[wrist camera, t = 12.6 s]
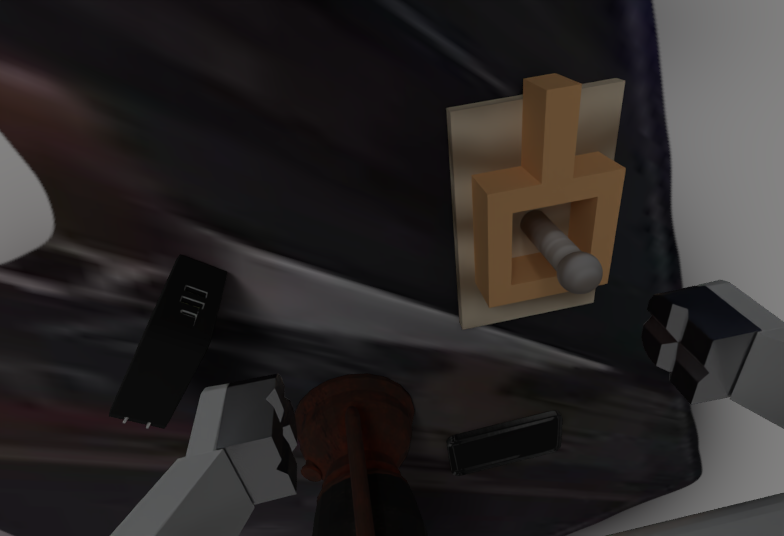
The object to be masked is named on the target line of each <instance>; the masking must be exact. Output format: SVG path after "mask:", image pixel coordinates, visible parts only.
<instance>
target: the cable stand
mask: <svg viewBox="0 0 784 536" xmlns="http://www.w3.org/2000/svg"><path fill="white" fill-rule="evenodd" d="M624 86H625V81H624V80H621V79H618V78H613V79H607V80H602V81H596V82H590V83H585V84H582V89H581V99H580V110H579V121H578V131H577V142H576V152H575V156H576V155H582V154H587V153H592V152H598V151H599V152H600V153H602V154H603V155H605V156H607V157H608V158H610V159H612V160H613V161H614V156H615V149H616V142H617V135H618V128H619V121H620V114H621V107H622V100H623V93H624ZM446 112H447V128H448V145H449V161H450V177H451V193H452V210H453V226H454V242H455V258H456V275H457V291H458V307H459V322H460V325H461V327H462V329H463V330H464V329H469V328H474V327H478V326H483V325H488V324H493V323H497V322H502V321H507V320H512V319H517V318H521V317H526V316H531V315H536V314H541V313H545V312H550V311H555V310H560V309H565V308H569V307H574V306H579V305H584V304H589V303H593V302H594V295H595V288H596V287H597V286H598V285H599V284H600V282H601V280H602V276H603V270H602V266H601V264H600V262H599V261H598V259H597V258H596V257H595V256H593V255H592V254H590V253H587V252H582V251H581V250H580V249H579V248H578V247H577V246H576V245H575V244H574V243H573V242H572V241H571V240H570V239H569V238H568V231H569V220H570V209H571V202H568V203H563V204H558V205H553V206H548V207H543V208H537V209H532V210H527V211H522V212H517V213H513V220H512V258H514V257H519V256H524V255H529V254H534V253H539V252H541V254H542V255H543V256H544V257H545V258H546V260H547V261H548V262H549V263H550V264H551V265H552V267H553V268H554V269H555V270H556V271H557V279H558V281H559V283H560V285H561V286H562V287H563V288H564V289H565V290H567V291H569V292H565V293H560V294H555V295H550V296H545V297H540V298H535V299H531V300H526V301H521V302H516V303H511V304H506V305H502V306H497V307H492V308H489V307H488V305H487V303H486V301H485V300H484V298H483V296H482V294H481V292H480V290H479V289H478V287H477V285H476V283H475V262H474V234H473V205H472V177H471V175H475V174H480V173H486V172H491V171H496V170H502V169H507V168H512V167H518V166H521V148H522V112H523V95H517V96H511V97H506V98H500V99H494V100H489V101H483V102H477V103H472V104H466V105H460V106H455V107H449V108H446Z"/></svg>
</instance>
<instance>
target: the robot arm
mask: <svg viewBox="0 0 784 536" xmlns="http://www.w3.org/2000/svg"><path fill="white" fill-rule="evenodd" d="M647 310H648V311H649V313H650V314H651V315H652V316H651V317H650V318H649V319H648V321H647V322H646V323H645V324H644V325H643V331H642V336H641V337H642V341H643V346H644V349H645V351H646V353H647V355H648V357H649V358H650V359H651V360H652V362H653V363H654V364H655V365H656V366H658V367H660V368H662V369H664V370H667V371H669V372H670V382H671V383H672V384H673V385H674V386H675V388H676V389H677V390H678V391H679V392H680V393H681V394H682V395H683V396H684V398H685V399H686V400H687V401H688V402H689V403H690V404H691V405H692V404H697V403H702V402H707V401H712V400H717V399H722V398H727V397H730V399H731V400H732V401H734V402H736V403H738V404H740V405H742V406H743V407H745V408H747V409H749V410H751V411H753V412H754V413H756V414H758V415H760V416H762V417H763V418H765V419H767V420H769V421H771V422H772V423H774V424H777V425H778V426H780V427H782V428H783V429H784V322H783V321H781V320H780V319H779V318H778V317H776V316H775V315H774V314H772V313H771V312H769V311H768V310H767V309H765V308H764V307H762V306H761V305H760V304H758V303H757V302H756V301H754V300H753V299H752V298H750V297H749V296H747V295H746V294H745V293H743V292H742V291H741V290H739V289H738V288H736V287H735V286H734V285H732V284H731V283H730V282H727V281H723V280H718V281H714V282H709V283H704V284H700V285H697V286H692V287H687V288H682V289H678V290H673V291H669V292H664V293H659V294H655V295H653V297H652V298H651V299H650V300H649V304H648V308H647ZM284 395H285V385H284V383H283V380H282V378H281V376H280V375H279V374H273V375H268V376H262V377H257V378H252V379H246V380H241V381H235V382H230V383H228V384H222V385H217V386H211V387H205V389H204V390H203V392H202V393H201V395H200V400H199V404H198V408H197V412H196V416H195V420H194V424H193V428H192V433H191V437H190V441H189V445H188V449H187V453H186V457H183V458H179V459H177V460H176V461H175V463H174V464H173V465H172V466H171V467H170V468H169V469H168V471H167V472H166V473H165V474H164V475H163V476H162V477H161V478H160V480H159V481H158V482H157V483H156V484H155V485H154V486H153V488H152V489H151V490H150V491H149V492H148V493H147V494H146V495H145V497H144V498H143V499H142V500H141V501H140V502H139V503H138V505H137V506H136V507H135V508H134V509H133V510H132V511H131V512H130V514H129V515H128V516H127V517H126V518H125V519H124V520H123V522H122V523H121V524H120V525H119V526H118V527H117V528H116V529H115V531H114V532H113V533H112V534H111V535H110V536H239V534H240V532H241V531H242V529H243V527H244V525H245V523H246V522H247V520H248V518H249V516H250V514H251V513H252V511H253V509H254V505H255V504H259V503H263V502H267V501H271V500H275V499H279V498H282V497H286V496H290V495H294V494H296V490H297V463H296V460H295V458H294V455H293V453H292V451H293V450H294V449H295V447H296V446H297V427H296V419H295V414H294V410H293V407H292V404H291V401H290V400H289V399H287V398H285V397H284ZM606 536H784V493H780V494H776V495H772V496H768V497H764V498H760V499H756V500H752V501H748V502H743V503H739V504H735V505H731V506H727V507H722V508H718V509H714V510H710V511H706V512H702V513H698V514H693V515H689V516H685V517H681V518H677V519H673V520H669V521H665V522H661V523H656V524H652V525H648V526H644V527H640V528H635V529H631V530H627V531H623V532H619V533H615V534H611V535H606Z"/></svg>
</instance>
